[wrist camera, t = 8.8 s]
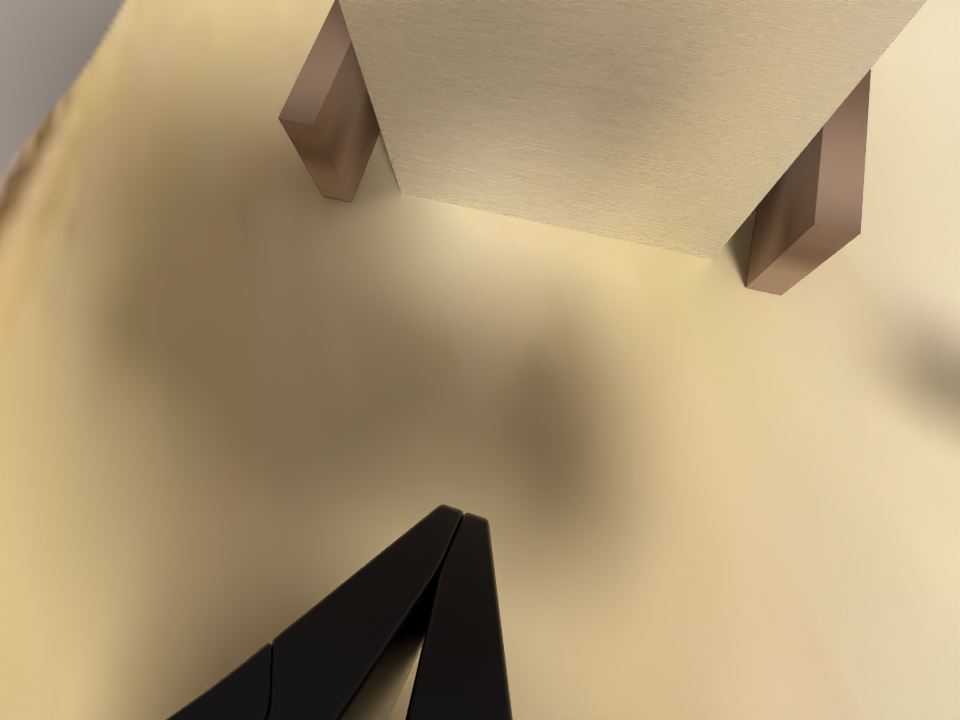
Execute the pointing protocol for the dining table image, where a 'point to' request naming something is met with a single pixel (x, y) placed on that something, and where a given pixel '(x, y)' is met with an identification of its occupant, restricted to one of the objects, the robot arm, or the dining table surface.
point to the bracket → (612, 103)
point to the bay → (779, 216)
